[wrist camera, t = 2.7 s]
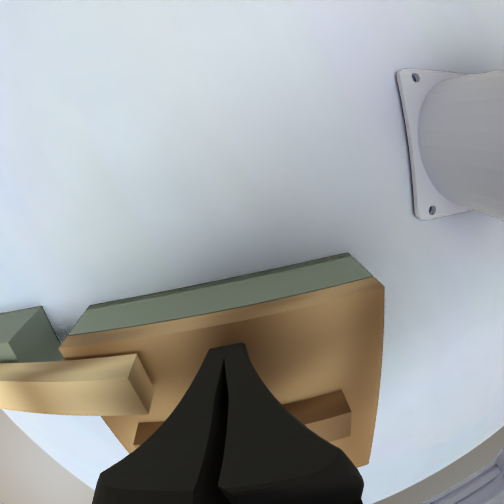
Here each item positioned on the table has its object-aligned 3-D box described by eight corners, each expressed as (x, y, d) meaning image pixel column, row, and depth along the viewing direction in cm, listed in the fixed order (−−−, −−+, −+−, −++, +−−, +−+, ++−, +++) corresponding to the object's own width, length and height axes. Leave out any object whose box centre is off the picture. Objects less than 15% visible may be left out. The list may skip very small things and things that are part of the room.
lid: (373, 276, 12) (402, 303, 10) (364, 453, 17) (374, 480, 14) (66, 336, 12) (44, 368, 10) (169, 485, 17) (167, 513, 14)
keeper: (41, 305, 15) (7, 342, 11) (69, 360, 16) (44, 401, 12) (-5, 314, 15) (-37, 345, 11) (20, 362, 16) (-5, 397, 12)
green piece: (348, 252, 15) (373, 275, 12) (351, 423, 20) (363, 452, 17) (89, 305, 15) (67, 334, 12) (173, 454, 20) (169, 484, 17)
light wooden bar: (136, 353, 11) (127, 378, 10) (154, 389, 12) (148, 414, 10) (-12, 363, 11) (-25, 379, 9) (6, 391, 12) (-5, 407, 10)
